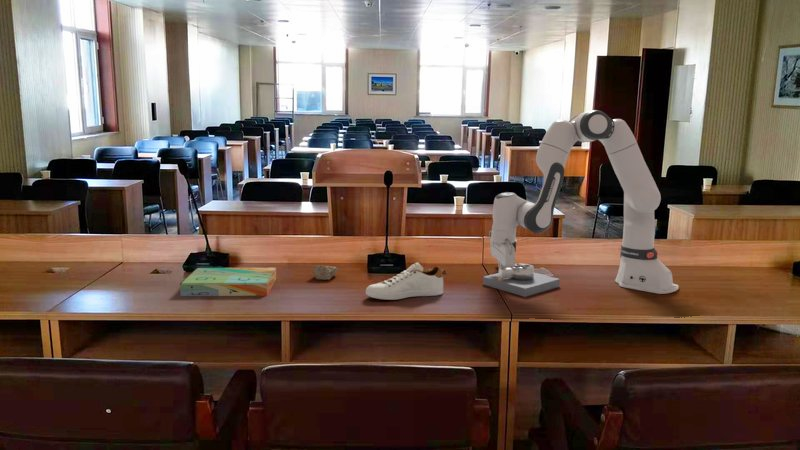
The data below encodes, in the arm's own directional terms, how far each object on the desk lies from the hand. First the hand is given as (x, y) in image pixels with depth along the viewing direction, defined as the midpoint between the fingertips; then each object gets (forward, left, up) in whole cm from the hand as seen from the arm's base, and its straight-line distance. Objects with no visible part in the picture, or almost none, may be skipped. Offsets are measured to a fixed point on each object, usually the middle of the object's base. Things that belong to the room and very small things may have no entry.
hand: (501, 272), depth 234 cm
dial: (-4, -4, -2) cm, 6 cm away
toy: (+17, -23, -5) cm, 29 cm away
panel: (-5, -6, -5) cm, 9 cm away
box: (+61, +79, -6) cm, 100 cm away
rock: (+50, +45, -5) cm, 68 cm away
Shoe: (+13, +36, -5) cm, 39 cm away
